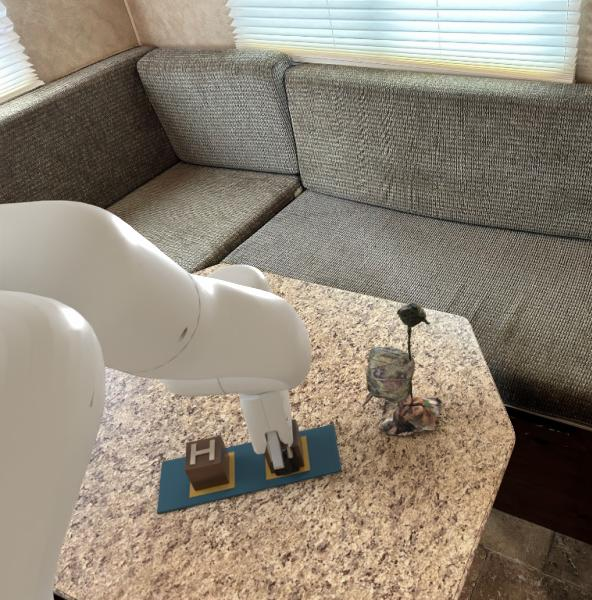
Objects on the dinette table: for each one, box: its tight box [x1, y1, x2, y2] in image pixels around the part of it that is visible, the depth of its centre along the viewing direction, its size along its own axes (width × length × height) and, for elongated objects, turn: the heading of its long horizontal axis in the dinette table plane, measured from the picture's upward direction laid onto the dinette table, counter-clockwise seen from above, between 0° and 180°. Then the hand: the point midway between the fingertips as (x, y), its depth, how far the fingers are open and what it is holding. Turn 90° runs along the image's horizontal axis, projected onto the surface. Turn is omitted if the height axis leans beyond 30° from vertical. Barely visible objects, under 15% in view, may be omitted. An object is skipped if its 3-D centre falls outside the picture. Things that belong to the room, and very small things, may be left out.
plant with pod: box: [361, 301, 443, 437], centre depth 81 cm, size 8×11×20 cm
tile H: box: [184, 435, 229, 491], centre depth 80 cm, size 4×4×5 cm
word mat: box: [156, 423, 343, 515], centre depth 82 cm, size 8×24×1 cm, turn 102°
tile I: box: [264, 418, 305, 474], centre depth 81 cm, size 4×4×5 cm
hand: (286, 454), depth 82 cm, fingers closed on tile I, 4 cm apart
